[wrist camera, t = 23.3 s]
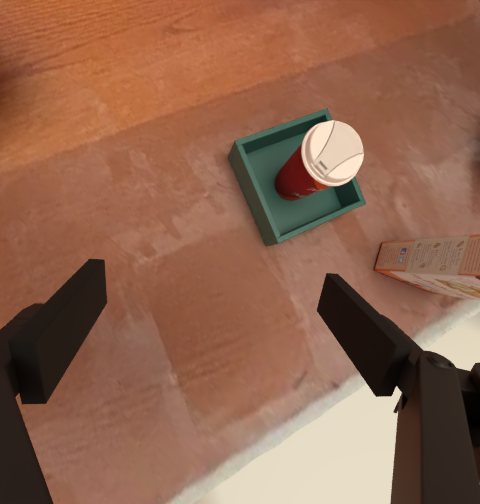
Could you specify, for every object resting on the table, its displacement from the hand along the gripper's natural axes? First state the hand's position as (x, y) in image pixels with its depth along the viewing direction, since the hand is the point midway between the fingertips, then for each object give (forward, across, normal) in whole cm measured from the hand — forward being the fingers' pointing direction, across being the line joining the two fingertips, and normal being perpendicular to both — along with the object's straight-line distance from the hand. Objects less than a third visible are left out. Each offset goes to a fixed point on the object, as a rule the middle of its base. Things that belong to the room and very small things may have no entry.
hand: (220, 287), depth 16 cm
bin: (+30, +13, +3) cm, 33 cm away
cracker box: (+26, +37, -9) cm, 46 cm away
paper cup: (+30, +13, +4) cm, 33 cm away
